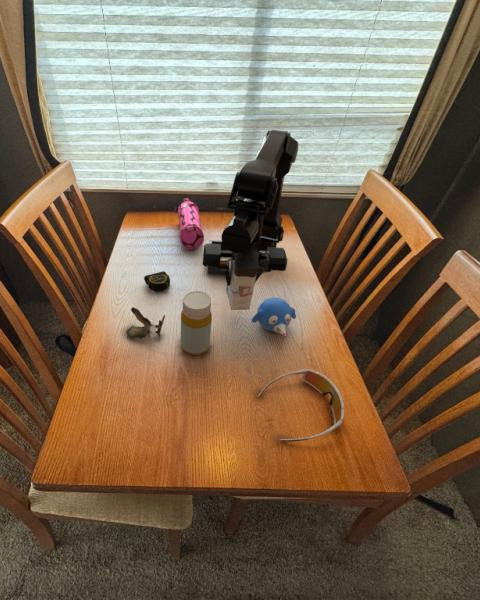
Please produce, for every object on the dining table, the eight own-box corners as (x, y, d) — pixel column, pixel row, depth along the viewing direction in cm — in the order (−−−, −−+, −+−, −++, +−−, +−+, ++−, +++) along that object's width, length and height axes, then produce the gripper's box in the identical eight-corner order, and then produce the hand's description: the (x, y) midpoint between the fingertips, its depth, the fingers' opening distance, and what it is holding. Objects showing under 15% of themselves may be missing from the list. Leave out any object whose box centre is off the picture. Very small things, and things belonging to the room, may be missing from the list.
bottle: (212, 339, 81) (217, 293, 71) (204, 359, 76) (207, 314, 66) (186, 332, 82) (187, 286, 73) (176, 352, 77) (176, 306, 68)
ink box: (224, 288, 85) (230, 250, 77) (243, 288, 86) (250, 250, 78) (229, 310, 79) (236, 272, 71) (249, 310, 79) (259, 272, 72)
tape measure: (165, 278, 99) (165, 268, 97) (173, 291, 95) (173, 281, 92) (144, 283, 97) (143, 273, 95) (151, 297, 92) (150, 287, 90)
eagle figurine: (165, 318, 84) (132, 309, 84) (165, 312, 78) (129, 302, 77) (157, 346, 82) (123, 337, 82) (157, 343, 76) (120, 333, 75)
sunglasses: (353, 429, 63) (359, 417, 60) (284, 455, 61) (286, 445, 58) (313, 372, 74) (317, 359, 70) (253, 393, 72) (253, 381, 68)
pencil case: (174, 222, 127) (173, 197, 120) (198, 221, 128) (199, 197, 121) (178, 251, 111) (178, 225, 104) (206, 250, 112) (207, 224, 105)
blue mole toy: (258, 350, 78) (264, 326, 73) (244, 317, 87) (249, 293, 81) (304, 345, 80) (314, 321, 74) (286, 312, 89) (293, 289, 83)
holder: (233, 253, 110) (235, 241, 107) (234, 275, 101) (236, 262, 98) (208, 252, 111) (209, 239, 107) (207, 274, 101) (208, 261, 98)
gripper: (202, 246, 63) (200, 304, 74) (298, 252, 62) (282, 310, 73) (205, 219, 72) (202, 275, 82) (290, 224, 71) (276, 280, 81)
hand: (239, 285), depth 79 cm, fingers closed on ink box, 5 cm apart
